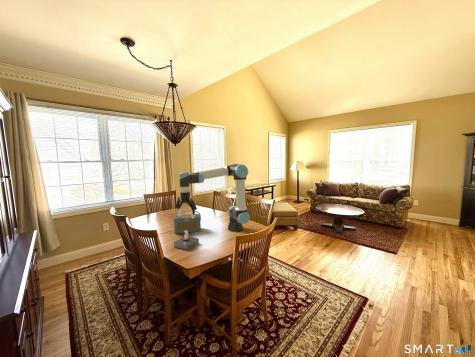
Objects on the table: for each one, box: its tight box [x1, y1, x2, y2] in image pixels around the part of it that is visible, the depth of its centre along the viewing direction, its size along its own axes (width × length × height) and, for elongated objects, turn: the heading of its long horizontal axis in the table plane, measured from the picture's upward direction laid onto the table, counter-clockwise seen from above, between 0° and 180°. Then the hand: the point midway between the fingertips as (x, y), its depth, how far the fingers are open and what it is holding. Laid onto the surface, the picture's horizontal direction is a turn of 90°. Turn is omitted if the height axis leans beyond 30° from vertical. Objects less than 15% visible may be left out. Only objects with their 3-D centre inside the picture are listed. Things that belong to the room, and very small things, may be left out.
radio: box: [173, 210, 202, 235], centre depth 193 cm, size 26×11×20 cm, turn 102°
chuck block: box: [173, 235, 200, 251], centre depth 163 cm, size 14×14×4 cm
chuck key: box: [182, 230, 190, 242], centre depth 163 cm, size 3×6×12 cm, turn 153°
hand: (186, 217), depth 162 cm, fingers open, 13 cm apart
